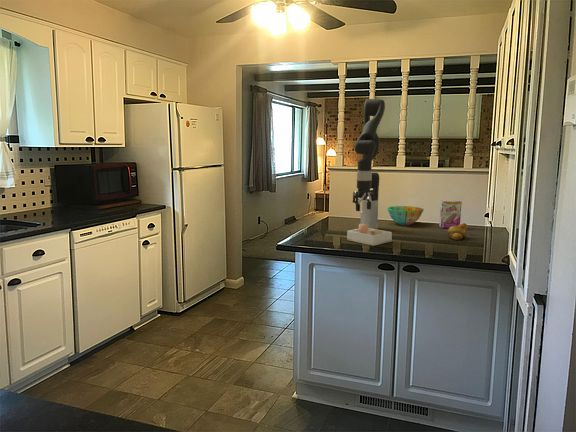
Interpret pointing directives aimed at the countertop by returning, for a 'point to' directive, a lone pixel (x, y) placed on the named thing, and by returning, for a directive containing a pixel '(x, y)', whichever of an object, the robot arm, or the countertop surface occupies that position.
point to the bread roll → (457, 231)
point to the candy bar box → (450, 213)
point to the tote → (369, 237)
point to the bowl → (405, 214)
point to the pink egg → (363, 228)
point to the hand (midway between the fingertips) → (363, 210)
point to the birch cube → (375, 232)
